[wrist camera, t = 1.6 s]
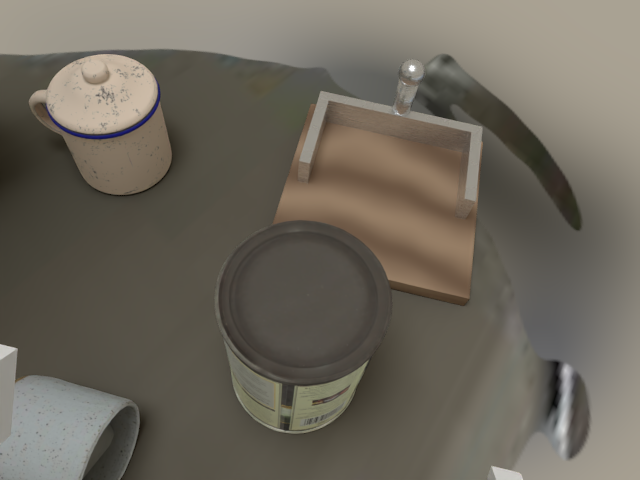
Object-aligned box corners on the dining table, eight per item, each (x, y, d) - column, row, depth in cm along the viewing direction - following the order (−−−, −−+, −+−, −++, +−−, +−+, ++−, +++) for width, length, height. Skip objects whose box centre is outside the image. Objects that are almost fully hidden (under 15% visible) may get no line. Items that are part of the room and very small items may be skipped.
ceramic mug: (49, 384, 41) (5, 352, 34) (150, 415, 41) (125, 389, 34) (-33, 537, 36) (-103, 535, 29) (82, 575, 35) (37, 583, 29)
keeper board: (463, 305, 47) (469, 298, 46) (264, 258, 48) (264, 250, 47) (477, 151, 56) (482, 141, 55) (310, 113, 57) (311, 103, 56)
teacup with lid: (187, 135, 54) (169, 39, 44) (156, 208, 50) (127, 120, 40) (72, 111, 55) (28, 11, 45) (30, 181, 50) (-29, 87, 40)
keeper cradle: (465, 219, 50) (499, 160, 43) (297, 181, 51) (302, 115, 43) (473, 138, 55) (505, 72, 48) (320, 104, 56) (328, 34, 48)
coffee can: (289, 285, 47) (296, 190, 35) (383, 362, 44) (427, 288, 32) (201, 373, 43) (175, 300, 30) (301, 465, 40) (314, 424, 28)
